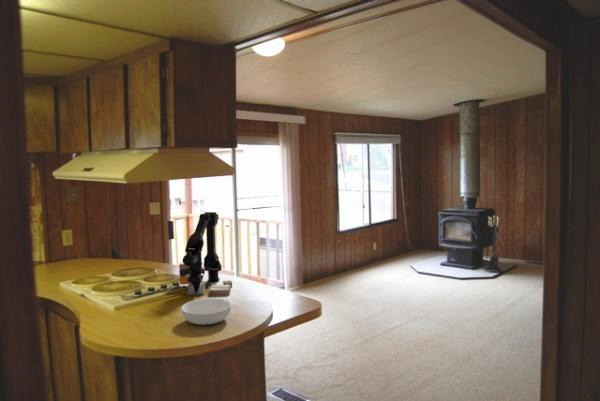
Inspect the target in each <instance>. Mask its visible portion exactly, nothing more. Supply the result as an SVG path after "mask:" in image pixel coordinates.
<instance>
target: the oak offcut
mask: <svg viewBox="0 0 600 401" xmlns="http://www.w3.org/2000/svg"><path fill="white" fill-rule="evenodd" d="M222 285H229V286H230V288H233V280H230V279H229V280H223V281H222Z"/></svg>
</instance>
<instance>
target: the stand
mask: <svg viewBox="0 0 600 401" xmlns="http://www.w3.org/2000/svg"><path fill="white" fill-rule="evenodd" d="M231 289H232V287H230V286H229V285H223V284H214V285H213V284H212V285H211V287H210V289H209V290H208V291H209V292H208V294H209V295H208V296H209V297H216V296H217V297H220V296H222V297H223V296H224V297H225V296H230V295H231V294H230V293H231V291H232V290H231Z"/></svg>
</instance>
